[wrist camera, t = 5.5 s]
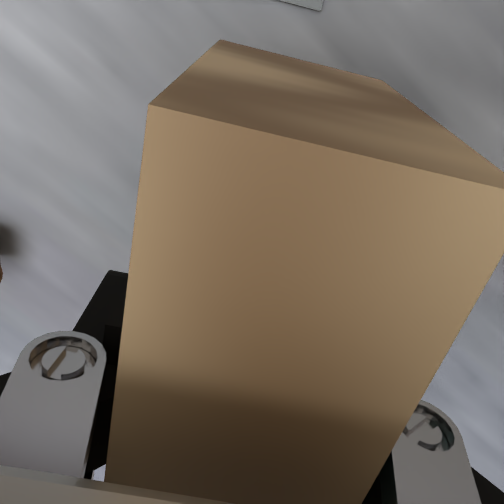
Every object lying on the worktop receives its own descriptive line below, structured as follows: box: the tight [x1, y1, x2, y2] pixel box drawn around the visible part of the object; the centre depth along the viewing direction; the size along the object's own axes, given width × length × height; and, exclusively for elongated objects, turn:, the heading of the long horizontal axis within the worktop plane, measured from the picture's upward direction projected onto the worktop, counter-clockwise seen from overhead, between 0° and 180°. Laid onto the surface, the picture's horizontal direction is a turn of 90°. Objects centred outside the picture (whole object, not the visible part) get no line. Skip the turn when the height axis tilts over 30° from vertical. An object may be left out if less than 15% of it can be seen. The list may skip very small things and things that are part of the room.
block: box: [104, 39, 504, 504], centre depth 9 cm, size 4×10×6 cm, turn 167°
